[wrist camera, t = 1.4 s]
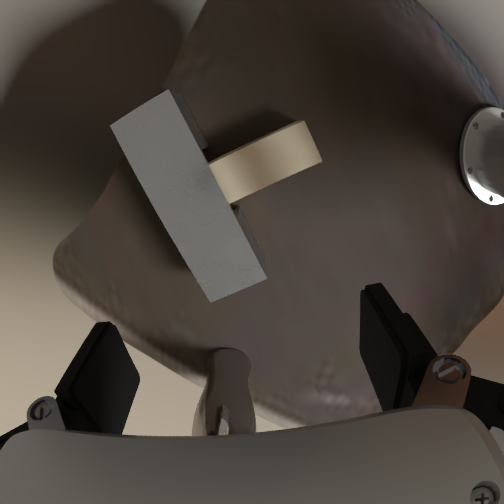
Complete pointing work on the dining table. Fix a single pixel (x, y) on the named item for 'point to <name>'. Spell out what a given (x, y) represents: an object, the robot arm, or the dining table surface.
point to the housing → (190, 195)
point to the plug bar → (265, 160)
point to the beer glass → (225, 396)
